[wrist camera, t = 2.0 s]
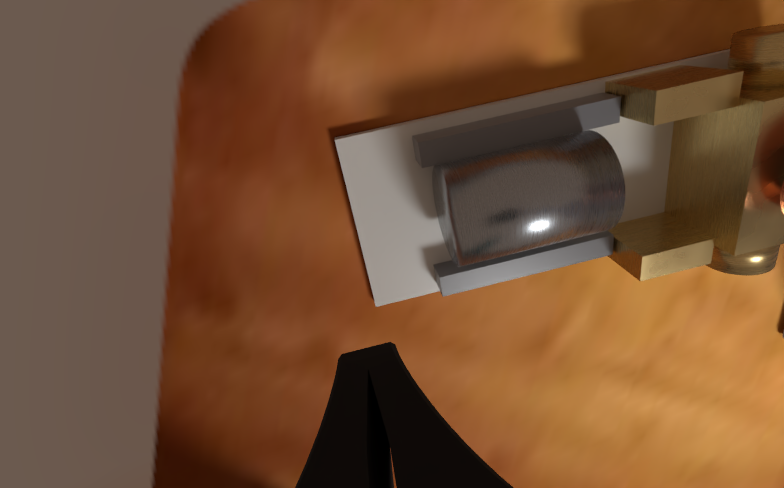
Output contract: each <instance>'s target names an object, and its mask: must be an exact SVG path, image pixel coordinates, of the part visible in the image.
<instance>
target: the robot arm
mask: <svg viewBox="0 0 784 488" xmlns="http://www.w3.org/2000/svg"><path fill="white" fill-rule="evenodd" d="M783 338H784V331H783ZM390 448H391V452H390ZM391 454H392V461H393V467H394V473H395V479H396V486H397V488H513V487H512V486H511V485H510V484H509V483H507V482H506V481H505V480H504V479H503V478H501V477H500V476H499V475H498V474H497V473H496V472H495V471H494V470H493V469H492V468H491V467H490V466H489V465H487V464H486V463H485V462H484V461H483V460H482V459H481V458H480V457H479V456H478V455H477V454H476V453H475V452H474V451H473V450H472V449H471V448H470V447H469V446H468V445H467V444H466V443H465V442H464V441H463V440H462V439H461V438H460V436H459V435H458V434H457V433H456V432H455V431H454V430H453V429H452V428H451V426H450V425H449V424H448V423H447V422H446V421H445V420H444V418H443V417H442V416H441V415H440V414H439V412H438V411H437V410H436V409H435V407H434V406H433V405H432V404H431V402H430V401H429V400H428V398H427V397H426V396H425V394H424V393H423V392H422V390H421V389H420V388H419V386H418V385H417V384H416V382H415V381H414V379H413V378H412V376H411V374H410V373H409V371H408V370H407V368H406V366H405V365H404V363H403V361H402V359H401V357H400V355H399V353H398V351H397V348H396V345H395V344H393V343H391V342H388V343H384V344H380V345H376V346H372V347H368V348H364V349H360V350H356V351H353V352H349V353H345V354H342V355H341V356H340V357H339V359H338V365H337V370H336V375H335V379H334V383H333V387H332V391H331V394H330V398H329V401H328V404H327V407H326V410H325V414H324V417H323V420H322V423H321V426H320V429H319V431H318V434H317V437H316V439H315V442H314V444H313V447H312V449H311V452H310V454H309V457H308V460H307V462H306V465H305V467H304V469H303V471H302V474H301V476H300V478H299V480H298V483H297V485H296V487H295V488H394V483H393V473H392V463H391Z"/></svg>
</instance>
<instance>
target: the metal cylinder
mask: <svg viewBox="0 0 784 488" xmlns="http://www.w3.org/2000/svg"><path fill="white" fill-rule="evenodd" d="M432 186H433V195H434V202H435V207H436V212H437V217H438V221H439V225H440V229H441V232H442V236H443V239H444V242H445V245H446V247H447V250H448V252H449V255H450V257H451V259H452V260H453V262H454V263H455V265H456V266H458V267H461V266H465V265H469V264H473V263H477V262H481V261H485V260H490V259H494V258H498V257H502V256H506V255H510V254H514V253H518V252H522V251H526V250H530V249H534V248H538V247H543V246H547V245H551V244H555V243H559V242H563V241H567V240H571V239H575V238H579V237H583V236H587V235H591V234H596V233H600V232H604V231H608V230H610V229H612V228H614V227H615V226H616V225H617V224H618V222H619V221H620V219H621V216H622V214H623V210H624V205H625V181H624V176H623V171H622V168H621V165H620V162H619V159H618V157H617V155H616V153H615V151H614V149H613V147H612V146H611V145H610V143H609V142H608V141H607V140H606V139H605V137H603V136H602V135H601V134H599V133H598V132H595V131H592V130H586V131H581V132H577V133H573V134H568V135H564V136H560V137H555V138H551V139H547V140H542V141H538V142H534V143H529V144H525V145H521V146H516V147H512V148H508V149H503V150H499V151H495V152H491V153H486V154H482V155H478V156H473V157H469V158H465V159H460V160H456V161H452V162H447V163H443V164H439V165H435V166H434V168H433V172H432Z"/></svg>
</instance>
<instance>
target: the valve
mask: <svg viewBox="0 0 784 488" xmlns="http://www.w3.org/2000/svg"><path fill="white" fill-rule="evenodd" d="M605 93H607V94H612V95H617V96H621V104H620V116H621V117H624V118H628V119H631V120H635V121H639V122H642V123H646V124H649V125H653V126H655V125H659V124H664V123H668V122H672V121H674V125H673V134H672V143H671V152H670V162H669V171H668V180H667V190H666V199H665V208H664V212H662V213H658V214H654V215H650V216H646V217H642V218H638V219H634V220H630V221H625V222H621V223H618V224H617V225H616V226H615V227H614V228H612V229H610V230H608V231H609V232H610V233H612V234H613V235H614V240H613V254H612V255H608V257H609V258H611V259H612V260H613V261H615V262H616V263H617V264H619V265H620V266H621V267H622V268H624V269H625V270H626V271H628V272H629V273H630V274H631V275H633V276H634V277H635V278H637V279H638V280H639V281H643V280H647V279H651V278H655V277H659V276H663V275H667V274H671V273H675V272H679V271H683V270H687V269H691V268H695V267H699V266H703V265H706V266H708V267H710V268H712V269H715V270H717V271H721V272H724V273H729V274H735V275H758V274H763V273H766V272H769V271H771V270H772V269H773V268H774V267H775V264H776V260H777V256H778V252H779V248H780V244H784V24H777V25H770V26H763V27H757V28H752V29H747V30H743V31H739V32H736V33H734V34H733V35H732V40H731V46H730V53H729V59H728V66H727V69H718V68H707V67H696V66H686V65H677V66H673V67H669V68H664V69H660V70H655V71H651V72H646V73H642V74H637V75H633V76H629V77H624V78H620V79H615V80H611V81H606V82H605Z"/></svg>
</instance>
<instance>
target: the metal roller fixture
mask: <svg viewBox="0 0 784 488" xmlns="http://www.w3.org/2000/svg"><path fill="white" fill-rule="evenodd" d="M729 53H730V49H727V50H723V51H718V52H714V53H710V54H705V55H701V56H696V57H692V58H687V59H683V60H678V61H674V62H670V63H665V64H661V65H656V66H652V67H647V68H643V69H638V70H634V71H629V72H625V73H621V74H616V75H612V76H607V77H603V78H598V79H594V80H589V81H585V82H581V83H576V84H572V85H567V86H563V87H558V88H554V89H549V90H545V91H541V92H536V93H532V94H527V95H523V96H518V97H514V98H509V99H505V100H501V101H496V102H492V103H487V104H483V105H478V106H474V107H469V108H465V109H460V110H456V111H452V112H447V113H443V114H438V115H434V116H429V117H425V118H420V119H416V120H412V121H407V122H403V123H398V124H394V125H389V126H385V127H380V128H376V129H372V130H367V131H363V132H358V133H354V134H349V135H345V136H340V137H336V138H334V139H335V144H336V148H337V152H338V156H339V160H340V164H341V168H342V172H343V176H344V180H345V184H346V188H347V192H348V196H349V200H350V204H351V208H352V212H353V216H354V220H355V224H356V228H357V232H358V236H359V240H360V244H361V248H362V252H363V256H364V260H365V264H366V268H367V272H368V276H369V281H370V285H371V289H372V293H373V297H374V301H375V305H376V307H377V306H381V305H385V304H389V303H393V302H397V301H401V300H405V299H410V298H414V297H418V296H422V295H426V294H430V293H434V292H438V291H440V292H441V294H442V296H447V295H451V294H455V293H459V292H463V291H467V290H471V289H475V288H479V287H483V286H487V285H491V284H495V283H499V282H503V281H507V280H511V279H515V278H519V277H523V276H528V275H532V274H536V273H540V272H544V271H548V270H552V269H556V268H560V267H564V266H568V265H572V264H576V263H580V262H584V261H588V260H592V259H596V258H600V257H604V256H608V255H612V254H613V240H614V235H613V234H612V233H610V232H609V231H604V232H600V233H596V234H591V235H587V236H583V237H579V238H575V239H571V240H567V241H563V242H559V243H555V244H551V245H547V246H543V247H538V248H534V249H530V250H526V251H522V252H518V253H514V254H510V255H506V256H502V257H498V258H494V259H490V260H485V261H481V262H477V263H473V264H469V265H465V266H461V267H458V266H456V265H455V263H454V262H453V260H452V259H451V257H450V255H449V252H448V250H447V247H446V245H445V242H444V239H443V236H442V232H441V229H440V225H439V221H438V217H437V212H436V207H435V202H434V195H433V186H432V172H433V168H434V166H435V165H439V164H443V163H447V162H452V161H456V160H460V159H465V158H469V157H473V156H478V155H482V154H486V153H491V152H495V151H499V150H503V149H508V148H512V147H516V146H521V145H525V144H529V143H534V142H538V141H542V140H547V139H551V138H555V137H560V136H564V135H568V134H573V133H577V132H581V131H586V130H592V131H595V132H598V133H599V134H601V135H602V136H603V137H605V139H606V140H607V141H608V142H609V143H610V145H611V146H612V147H613V149H614V151H615V153H616V155H617V157H618V159H619V162H620V165H621V168H622V171H623V176H624V181H625V205H624V210H623V214H622V216H621V219H620V221H619V222H618V223H621V222H625V221H630V220H634V219H638V218H642V217H646V216H650V215H654V214H658V213H662V212H664V208H665V199H666V190H667V180H668V171H669V162H670V152H671V143H672V134H673V125H674V121H672V122H668V123H664V124H659V125H655V126H653V125H649V124H646V123H642V122H639V121H635V120H631V119H628V118H624V117H621V116H620V104H621V96H617V95H612V94H607V93H605V82H606V81H611V80H615V79H620V78H624V77H629V76H633V75H637V74H642V73H646V72H651V71H655V70H660V69H664V68H669V67H673V66H677V65H686V66H696V67H707V68H718V69H727V66H728V59H729Z"/></svg>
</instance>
